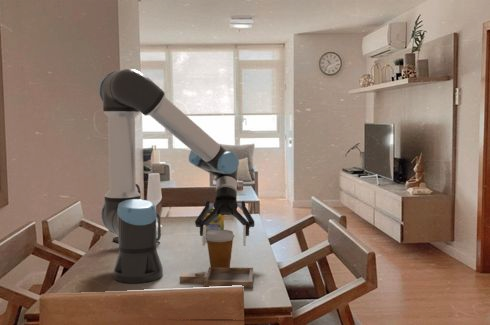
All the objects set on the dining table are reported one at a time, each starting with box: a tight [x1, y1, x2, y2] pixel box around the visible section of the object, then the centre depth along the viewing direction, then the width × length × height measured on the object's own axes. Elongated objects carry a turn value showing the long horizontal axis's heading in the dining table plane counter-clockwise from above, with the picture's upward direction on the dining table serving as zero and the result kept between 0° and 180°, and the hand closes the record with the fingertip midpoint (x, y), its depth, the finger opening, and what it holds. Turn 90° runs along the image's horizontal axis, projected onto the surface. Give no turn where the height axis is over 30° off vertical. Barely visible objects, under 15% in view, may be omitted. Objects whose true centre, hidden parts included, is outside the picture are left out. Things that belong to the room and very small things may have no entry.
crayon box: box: [204, 208, 225, 234], centre depth 217 cm, size 7×3×12 cm, turn 76°
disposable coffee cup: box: [205, 229, 235, 268], centre depth 173 cm, size 10×10×12 cm
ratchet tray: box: [179, 267, 254, 289], centre depth 160 cm, size 22×14×2 cm, turn 88°
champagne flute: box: [146, 172, 163, 229], centre depth 237 cm, size 7×7×24 cm
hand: (224, 243), depth 175 cm, fingers open, 13 cm apart
